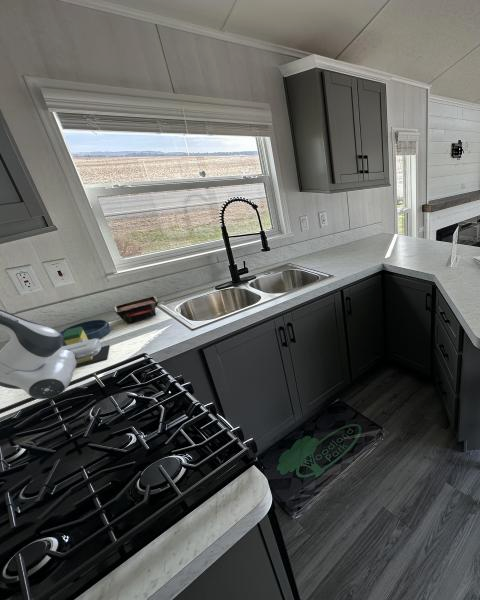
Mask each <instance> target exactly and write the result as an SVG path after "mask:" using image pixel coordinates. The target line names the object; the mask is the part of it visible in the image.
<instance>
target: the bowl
mask: <svg viewBox="0 0 480 600" xmlns="http://www.w3.org/2000/svg"><path fill="white" fill-rule="evenodd" d="M77 327H82V328H83V330H84V332H85V334H86V336H87V338H88V340H91V339H99V340H100V339H102V338H103V337H105V336H106V335H108V334H109V333H110V332H111V330H112V327H111V324H110V323H109V321H108V320H106V319H99V318H98V319H90V320H85V321H82V322H78V323H75V324H71V325H70V326H67V327H65V328H63V329H62V330H60V331H58V332H59V333H60V335H61V338H62V346H67V344H66V342H65V341H64V339H63V336H64V334H65V332H66V330H68V329H73V328H77Z"/></svg>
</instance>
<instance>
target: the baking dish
mask: <svg viewBox="0 0 480 600" xmlns="http://www.w3.org/2000/svg"><path fill="white" fill-rule="evenodd" d="M158 304H159V298H158V296H155V295H151V296H148V297H144V298H139V299H136V300H131V301H129V302H124V303H122V304H121V303H120V304H117V305H115V306H114V307H113V312H114V313H115V314H116V315H118V316H119V317H120V318H121V319H122V320H123V322H124V323H126V325H131V324H134V323H137V322H140V321H143V320H146V319H150V318H153V317H156V316H157V313H156V308H157V306H158Z"/></svg>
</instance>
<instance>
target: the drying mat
mask: <svg viewBox="0 0 480 600" xmlns="http://www.w3.org/2000/svg"><path fill="white" fill-rule="evenodd" d="M110 347H111V346H110V344H107V345H103V346H102V347H101V349H100V351H99V352H98V354H96V355H95V356H93V358H92V360H89V361H85V362H82V363H78V364H76V367H75V369H78V368H81V367H85V366H89V365H92V364H95V363H99V362H102V361H103V362H104V361H106V360H108V358H109V357H108V356H109V352H110Z"/></svg>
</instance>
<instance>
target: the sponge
mask: <svg viewBox="0 0 480 600" xmlns="http://www.w3.org/2000/svg"><path fill="white" fill-rule="evenodd" d="M84 338H85V340H86V341H87V340H88V338H87V336H86V334H85V332H84V330H83V328H82V327H77V328H73V329H68V330H66V332H65V334H64V336H63V339H64V341H65V342H66V344H67V345H71V344H75V343H79V340H80V339H84ZM92 358H93V356H92V357H89V358H85V359H81V360H77V364H78V363H82V362H85V361H89V360H92Z"/></svg>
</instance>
